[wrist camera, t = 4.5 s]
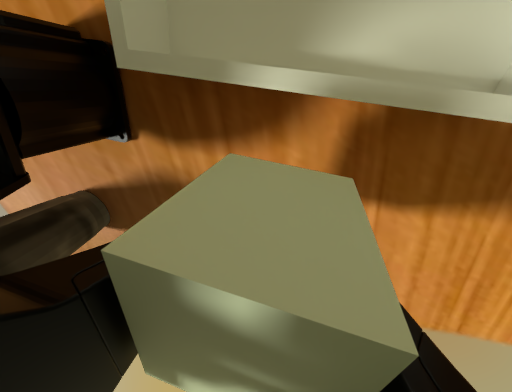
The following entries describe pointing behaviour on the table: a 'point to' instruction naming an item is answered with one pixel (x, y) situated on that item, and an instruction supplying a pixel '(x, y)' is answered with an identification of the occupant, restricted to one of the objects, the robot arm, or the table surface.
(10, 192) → the robot arm
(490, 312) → the table surface
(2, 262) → the beverage cup
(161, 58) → the bin
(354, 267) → the sage block
